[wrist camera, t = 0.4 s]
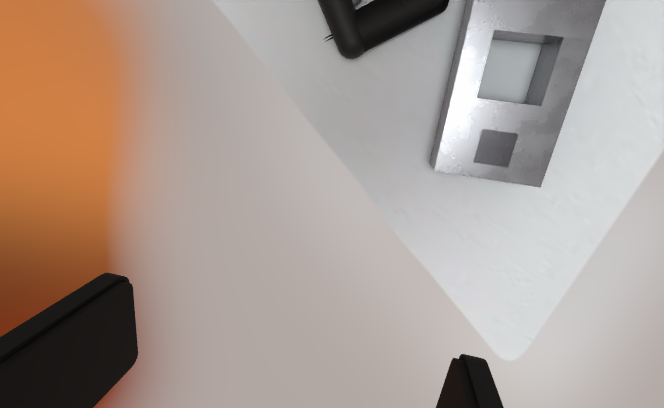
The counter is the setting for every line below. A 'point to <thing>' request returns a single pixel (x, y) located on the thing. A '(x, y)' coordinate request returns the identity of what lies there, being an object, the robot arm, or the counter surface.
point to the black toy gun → (374, 21)
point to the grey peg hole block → (506, 117)
